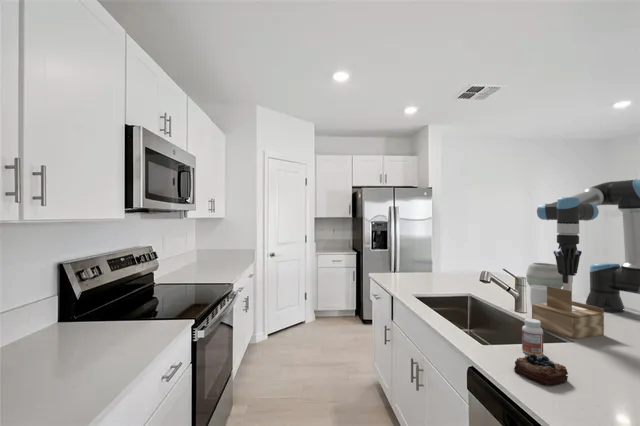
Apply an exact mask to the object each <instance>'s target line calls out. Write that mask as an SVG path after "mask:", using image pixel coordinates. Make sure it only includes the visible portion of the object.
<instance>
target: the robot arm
mask: <svg viewBox="0 0 640 426" xmlns="http://www.w3.org/2000/svg"><path fill="white" fill-rule="evenodd" d="M599 206H617V209H618V210H619V211H620V212H621V213H622V227H623V243H624V244H623V245H624V262H623V263H621V265H620V263H615V262H613V263H610V262H608V263H606V262H605V263H604V262H603V263H593V264H591V265H590V268H589V293H588V296H587V297H586V301H585V304H586V305H590V306H594V307H599V308H603V309H604V312H608V313H624V312H625V305H624V303H623V300H622V297H621V295H620V294H621V293H620V292H627V293H631V294H638V295H640V179H626V180H616V181H607V182H603V183H600V184H597V185H593V186H591V187H588V188H585V189H584V190H583V192H579V193H577V194H575V195H571V196H567V197H564V196H563V197H559V198H558V199H557V201H555V202H552V203H541V204H539V205H538V206H537V209H536V215H537V217H538V218H539V219H540V220H545V221H546V220H547V221H556V233H557V235H556V243H557V244H558V248H557V250H554V251H553V254H554V256H555V261H556V264H557V268H558V273H560V274H561V275H563V286H562V289H565V290H569V291H572V292H573V280H574V279H573V278H574V277H575V276H576V275H577V274H578V269H579V265H580V264H579V263H580V259H581V255H582V253H583V252H582V250H578V247H577V245H579V244H580V236H579V234H580V221H584V222H585V221H593V220H594V219H596V218H598V216H599V208H598V207H599ZM573 276H574V277H573ZM623 309H624V310H623Z"/></svg>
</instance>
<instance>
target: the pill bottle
mask: <svg viewBox="0 0 640 426" xmlns="http://www.w3.org/2000/svg"><path fill="white" fill-rule="evenodd" d="M540 325H541V322H540V321H539V320H536V319H532V318H525V319H524V325H522V327H521V347H522V348H521V349H522V352H523V353H525V354H527V355H528V356H530V355H532V354H535V355H537V356H540V357H542V355H543V356H544V329H543V328H541V327H540Z"/></svg>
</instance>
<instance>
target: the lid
mask: <svg viewBox="0 0 640 426" xmlns="http://www.w3.org/2000/svg"><path fill="white" fill-rule="evenodd" d="M532 305H533V306H536V307H539V308H543V309H546V310H550V311H553V312H557V313H560V314H563V315H567V316H570V317H583V316H593V315H604V313H605V311H604V309H603V308H599V307H594V306H590V305H586V303H582V302H577V301H573V290H572V291H569V290H565V289H563V288H561V289H560V288H555V287H551V286H547V303H537V304H532Z"/></svg>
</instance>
